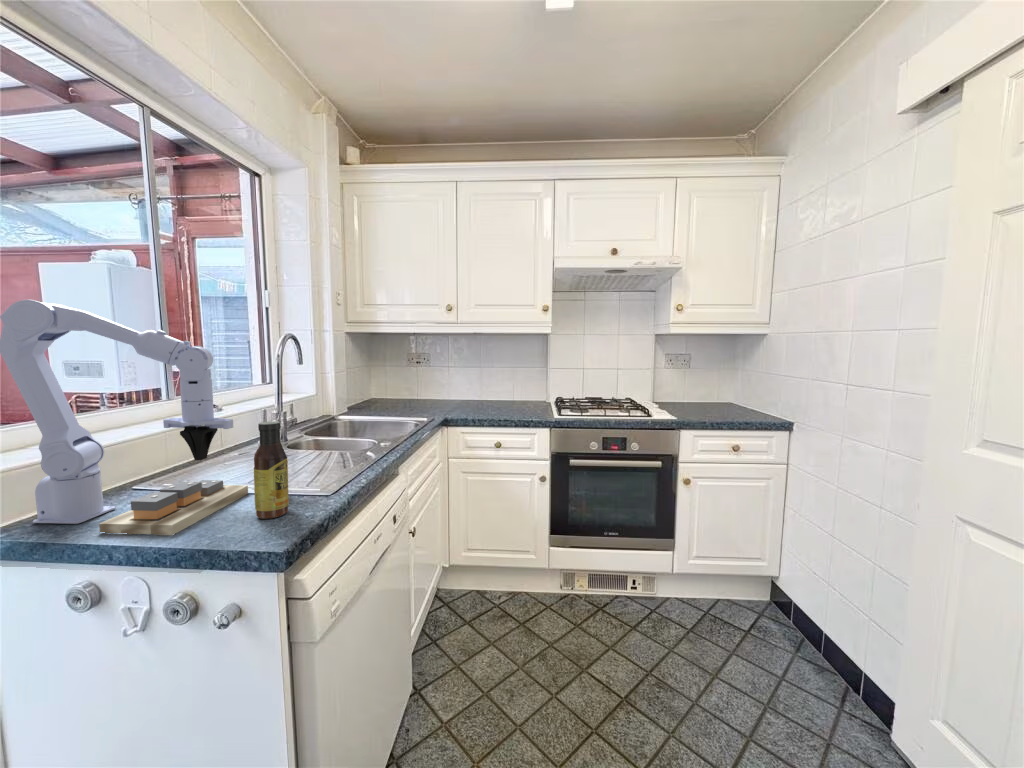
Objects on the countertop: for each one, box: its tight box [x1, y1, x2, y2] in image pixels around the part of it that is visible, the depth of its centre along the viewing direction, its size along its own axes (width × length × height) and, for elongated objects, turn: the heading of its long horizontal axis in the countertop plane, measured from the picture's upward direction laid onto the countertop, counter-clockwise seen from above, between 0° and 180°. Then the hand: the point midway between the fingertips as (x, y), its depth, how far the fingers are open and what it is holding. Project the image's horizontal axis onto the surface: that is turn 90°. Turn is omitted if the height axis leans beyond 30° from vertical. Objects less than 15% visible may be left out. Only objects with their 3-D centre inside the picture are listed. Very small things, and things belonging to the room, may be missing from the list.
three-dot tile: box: [198, 479, 224, 496], centre depth 96 cm, size 5×5×4 cm
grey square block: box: [130, 491, 178, 520], centre depth 83 cm, size 5×5×4 cm
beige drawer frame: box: [98, 484, 249, 536], centre depth 89 cm, size 14×22×2 cm, turn 179°
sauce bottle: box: [253, 420, 290, 520], centre depth 88 cm, size 6×6×20 cm
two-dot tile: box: [159, 481, 202, 507], centre depth 89 cm, size 5×5×4 cm
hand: (200, 459), depth 94 cm, fingers closed
